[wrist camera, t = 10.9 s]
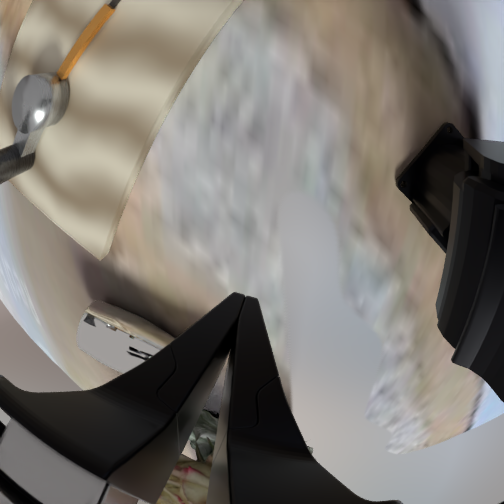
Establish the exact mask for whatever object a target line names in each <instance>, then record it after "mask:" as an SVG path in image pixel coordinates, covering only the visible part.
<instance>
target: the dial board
mask: <svg viewBox="0 0 504 504" xmlns="http://www.w3.org/2000/svg"><path fill="white" fill-rule="evenodd" d="M242 2H243V0H33V1H32V3H31V5H30V7H29V10H28V12H27V14H26V16H25V18H24V21H23V23H22V25H21V28H20V30H19V33H18V35H17V38H16V40H15V43H14V46H13V49H12V52H11V55H10V58H9V61H8V64H7V67H6V71H5V74H4V78H3V82H2V86H1V90H0V149H2V148H5V147H7V146H10V145H12V144H13V142H14V139H15V136H16V133H17V130H18V129H17V128H16V126H15V124H14V121H13V117H12V99H13V95H14V92H15V89H16V87H17V85H18V83H19V82H20V80H21V79H22V78H23V77H25V76H27V75H32V74H40V73H50V72H57V71H58V70H59V68H60V66H61V65H62V63H63V61H64V60H65V58H66V56H67V55H68V53H69V52H70V50H71V49H72V47H73V46H74V44H75V43H76V41H77V40H78V38H79V37H80V35H81V34H82V32H83V31H84V30H85V28H86V27H87V26H88V24H89V23H90V22H91V20H92V19H93V18H94V16H95V15H96V14H97V13H98V11H99V10H100V9H101V8H102V7H103V5H104V4H108V5H110V6H111V7H113V8H114V9H115V12H114V13H113V14H112V15H111V16H110V18H109V19H108V20H107V21H106V22H105V24H104V25H103V26H102V27H101V29H100V30H99V31H98V33H97V34H96V35H95V37H94V38H93V39H92V41H91V42H90V43H89V45H88V46H87V48H86V49H85V51H84V52H83V53H82V55H81V56H80V58H79V59H78V61H77V63H76V64H75V66H74V67H73V69H72V70H71V72H70V74H69V75H68V77H67V79H66V81H67V84H68V89H69V99H68V105H67V109H66V111H65V114H64V116H63V117H62V119H61V120H60V121H59V122H58V123H57V124H55V125H53V126H49V127H46V128H44V131H43V133H42V135H41V137H40V140H39V142H38V144H37V147H36V149H35V151H34V154H35V160H34V165H33V167H32V168H31V169H30V170H27V171H25V172H23V173H21V174H19V175H17V176H15V177H13V178H11V179H9V181H10V182H11V183H12V184H13V185H14V186H15V187H16V188H17V189H18V190H19V191H20V192H21V193H22V194H23V195H24V196H25V197H26V198H27V199H28V200H29V201H30V202H31V203H33V204H34V205H35V206H36V207H37V208H38V209H39V210H40V211H41V212H42V213H43V214H45V215H46V216H47V217H48V218H49V219H50V220H51V221H52V222H54V223H55V224H56V225H57V226H58V227H59V228H61V229H62V230H63V231H64V232H65V233H66V234H68V235H69V236H70V237H71V238H72V239H74V240H75V241H76V242H77V243H79V244H80V245H81V246H82V247H84V248H85V249H86V250H87V251H89V252H90V253H91V254H92V255H94V256H95V257H96V258H97V259H99V260H100V261H101V260H102V259H103V258H104V257H105V256H106V255H107V254H108V253H109V250H110V247H111V244H112V241H113V238H114V235H115V232H116V229H117V227H118V224H119V221H120V218H121V216H122V213H123V210H124V208H125V205H126V203H127V200H128V198H129V195H130V193H131V190H132V188H133V185H134V183H135V181H136V178H137V176H138V174H139V171H140V169H141V167H142V165H143V163H144V160H145V158H146V156H147V154H148V152H149V150H150V148H151V146H152V143H153V141H154V139H155V137H156V135H157V133H158V131H159V129H160V128H161V126H162V124H163V122H164V120H165V118H166V116H167V114H168V112H169V111H170V109H171V107H172V105H173V103H174V102H175V100H176V98H177V96H178V95H179V93H180V91H181V89H182V88H183V86H184V84H185V83H186V81H187V79H188V78H189V76H190V75H191V73H192V71H193V70H194V68H195V67H196V65H197V63H198V62H199V60H200V59H201V57H202V56H203V54H204V53H205V51H206V50H207V48H208V47H209V45H210V44H211V43H212V41H213V40H214V38H215V37H216V36H217V34H218V33H219V31H220V30H221V29H222V27H223V26H224V25H225V23H226V22H227V21H228V19H229V18H230V17H231V15H232V14H233V13H234V12H235V10H236V9H237V8H238V7H239V5H240V4H241V3H242Z"/></svg>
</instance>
